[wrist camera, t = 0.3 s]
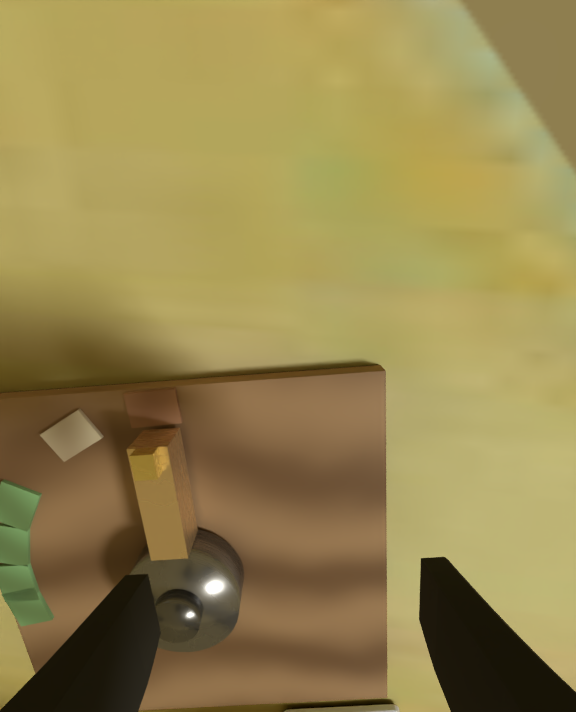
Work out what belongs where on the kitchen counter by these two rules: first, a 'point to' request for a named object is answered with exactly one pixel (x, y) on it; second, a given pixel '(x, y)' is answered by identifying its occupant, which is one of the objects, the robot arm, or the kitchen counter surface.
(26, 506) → the brown flat square slab
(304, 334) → the kitchen counter surface
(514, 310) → the kitchen counter surface
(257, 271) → the kitchen counter surface
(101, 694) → the robot arm
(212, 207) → the kitchen counter surface
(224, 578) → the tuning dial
